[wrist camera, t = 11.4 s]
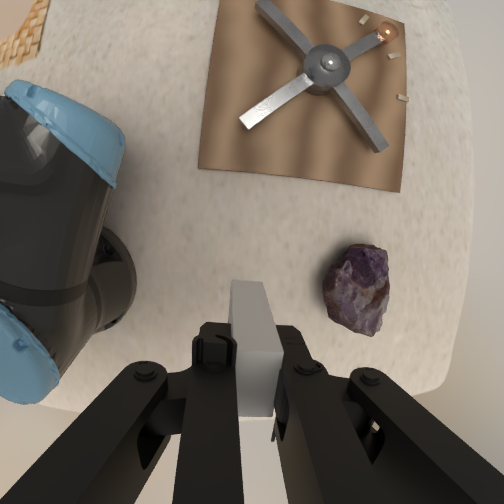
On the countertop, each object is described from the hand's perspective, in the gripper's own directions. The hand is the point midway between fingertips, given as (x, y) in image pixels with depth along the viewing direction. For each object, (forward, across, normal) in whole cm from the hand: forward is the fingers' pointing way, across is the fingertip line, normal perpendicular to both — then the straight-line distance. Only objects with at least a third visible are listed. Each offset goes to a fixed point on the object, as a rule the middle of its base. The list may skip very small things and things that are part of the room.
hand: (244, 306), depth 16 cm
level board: (+24, +8, +20) cm, 33 cm away
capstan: (+23, +8, +20) cm, 31 cm away
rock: (+25, +16, -6) cm, 30 cm away
